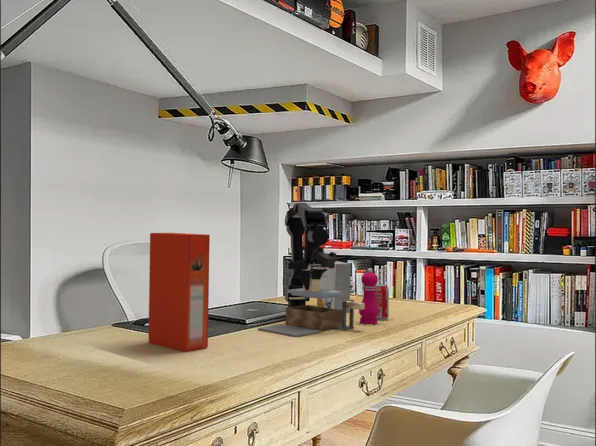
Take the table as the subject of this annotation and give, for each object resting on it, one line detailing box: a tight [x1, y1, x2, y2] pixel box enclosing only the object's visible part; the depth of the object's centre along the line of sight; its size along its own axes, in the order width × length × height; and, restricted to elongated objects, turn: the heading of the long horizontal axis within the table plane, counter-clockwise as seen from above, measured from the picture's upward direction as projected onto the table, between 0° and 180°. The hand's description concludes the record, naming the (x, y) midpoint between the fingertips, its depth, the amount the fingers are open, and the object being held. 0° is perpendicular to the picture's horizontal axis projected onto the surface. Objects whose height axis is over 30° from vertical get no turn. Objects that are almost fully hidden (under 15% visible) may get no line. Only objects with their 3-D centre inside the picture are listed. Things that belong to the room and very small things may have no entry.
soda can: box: [375, 283, 390, 321], centre depth 234 cm, size 7×7×13 cm
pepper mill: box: [358, 267, 379, 325], centre depth 224 cm, size 7×7×20 cm
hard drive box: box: [316, 260, 352, 313], centre depth 255 cm, size 16×8×20 cm, turn 25°
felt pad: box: [257, 323, 322, 338], centre depth 204 cm, size 17×12×1 cm
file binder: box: [148, 232, 211, 353], centre depth 177 cm, size 8×17×32 cm, turn 48°
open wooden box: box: [284, 299, 355, 332], centre depth 214 cm, size 20×13×10 cm, turn 49°
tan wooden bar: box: [341, 301, 365, 311], centre depth 209 cm, size 8×2×2 cm, turn 49°
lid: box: [288, 278, 342, 299], centre depth 215 cm, size 15×11×6 cm
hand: (311, 289), depth 213 cm, fingers closed on lid, 4 cm apart
